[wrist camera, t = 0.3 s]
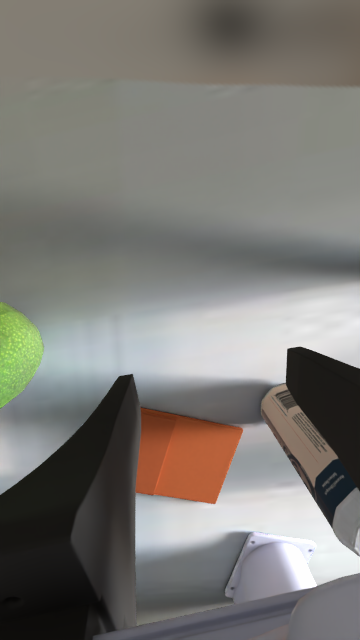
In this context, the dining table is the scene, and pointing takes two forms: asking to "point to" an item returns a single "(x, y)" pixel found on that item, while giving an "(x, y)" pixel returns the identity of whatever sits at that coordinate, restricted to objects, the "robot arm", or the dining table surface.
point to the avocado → (17, 352)
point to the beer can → (315, 464)
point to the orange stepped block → (184, 456)
